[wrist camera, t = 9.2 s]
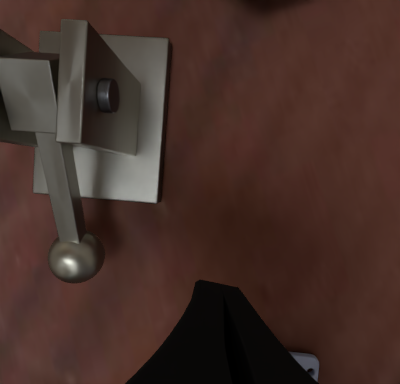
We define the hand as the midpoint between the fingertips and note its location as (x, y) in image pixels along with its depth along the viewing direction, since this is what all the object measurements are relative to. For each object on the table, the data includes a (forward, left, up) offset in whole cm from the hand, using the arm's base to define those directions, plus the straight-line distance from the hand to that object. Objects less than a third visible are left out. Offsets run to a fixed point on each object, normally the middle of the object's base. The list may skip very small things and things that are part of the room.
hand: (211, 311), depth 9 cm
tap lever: (+4, +8, -7) cm, 11 cm away
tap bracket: (+7, +8, -10) cm, 15 cm away
